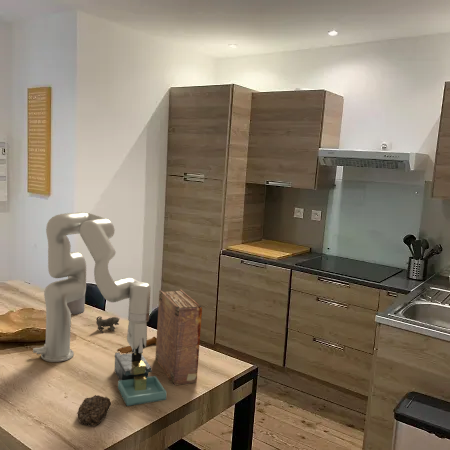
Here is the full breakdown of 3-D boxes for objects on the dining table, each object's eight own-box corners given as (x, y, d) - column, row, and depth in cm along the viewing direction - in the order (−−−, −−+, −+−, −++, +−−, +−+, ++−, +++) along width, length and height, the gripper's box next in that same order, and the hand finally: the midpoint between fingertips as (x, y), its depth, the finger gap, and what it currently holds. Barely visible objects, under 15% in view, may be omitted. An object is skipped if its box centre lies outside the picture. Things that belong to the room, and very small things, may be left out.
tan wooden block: (133, 386, 171) (135, 390, 168) (134, 376, 171) (135, 380, 168) (144, 385, 173) (146, 389, 170) (144, 375, 172) (146, 379, 169)
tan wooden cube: (134, 374, 169) (134, 366, 169) (131, 369, 173) (131, 361, 172) (144, 373, 171) (145, 365, 170) (141, 368, 174) (142, 360, 174)
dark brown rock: (90, 405, 158) (91, 390, 158) (116, 412, 155) (116, 398, 154) (67, 421, 148) (68, 406, 147) (94, 430, 144) (95, 414, 143)
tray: (126, 406, 159) (127, 397, 158) (117, 388, 170) (118, 380, 170) (166, 399, 165) (166, 391, 164) (155, 383, 176) (155, 375, 176)
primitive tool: (123, 355, 200) (123, 347, 200) (115, 351, 204) (116, 343, 203) (158, 345, 214) (159, 337, 214) (151, 341, 218) (151, 334, 217)
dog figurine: (98, 333, 221) (98, 318, 220) (94, 329, 226) (94, 314, 225) (122, 330, 228) (123, 315, 227) (118, 326, 233) (118, 311, 232)
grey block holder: (124, 389, 170) (125, 371, 169) (113, 369, 185) (114, 352, 184) (151, 385, 174) (152, 367, 173) (138, 366, 189) (139, 350, 188)
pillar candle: (65, 308, 253) (66, 281, 251) (84, 307, 256) (85, 281, 254) (65, 314, 244) (66, 286, 242) (84, 314, 247) (85, 286, 245)
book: (155, 358, 198) (159, 289, 194) (176, 356, 202) (180, 288, 198) (173, 386, 175) (178, 308, 172) (196, 382, 179) (202, 307, 175)
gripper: (123, 310, 177) (121, 356, 180) (134, 323, 164) (131, 373, 166) (142, 309, 181) (140, 354, 183) (154, 321, 167) (151, 370, 170)
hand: (136, 363), depth 175 cm, fingers closed
